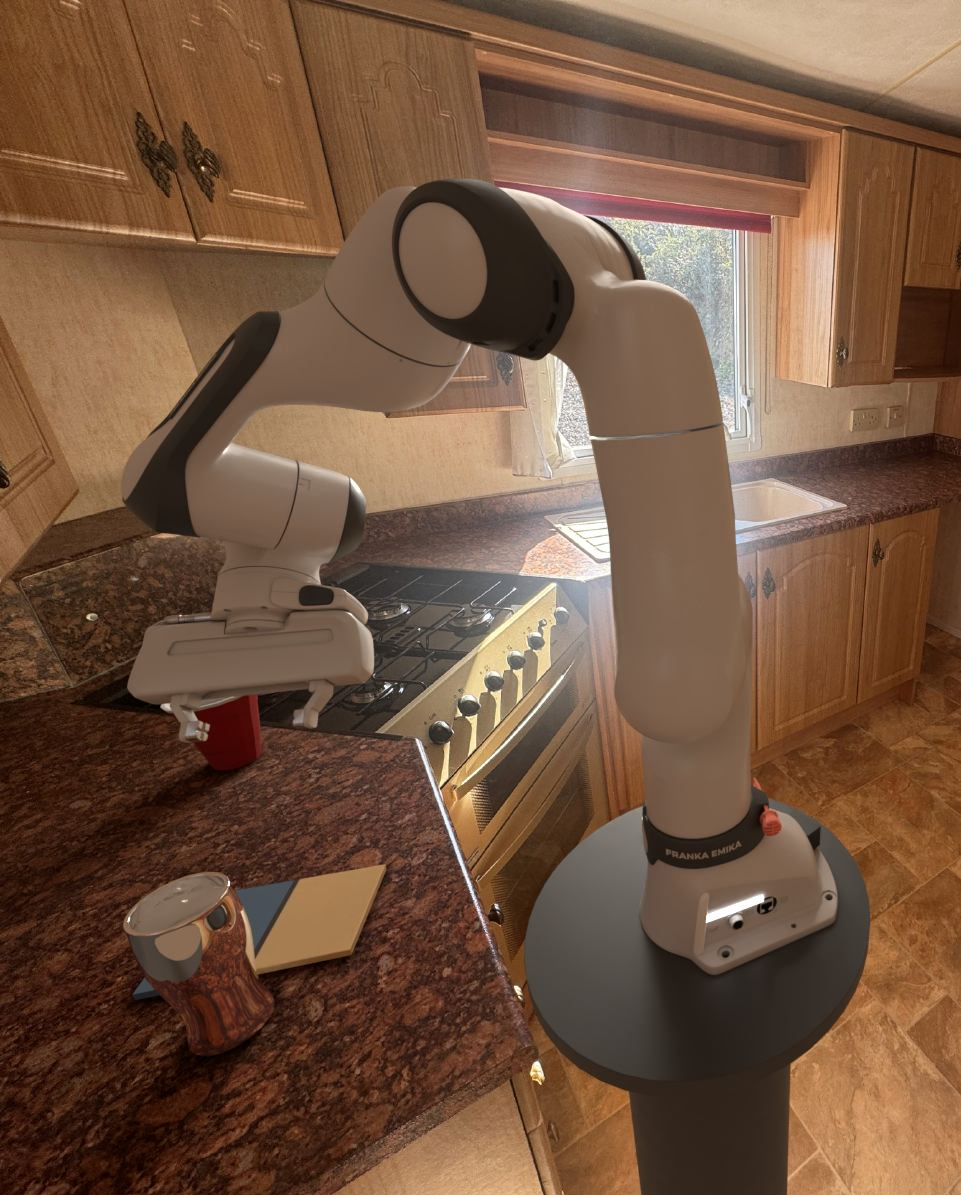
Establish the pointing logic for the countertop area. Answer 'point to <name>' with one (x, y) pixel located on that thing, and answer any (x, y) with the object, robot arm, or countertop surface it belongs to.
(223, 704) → the plastic cup
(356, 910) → the sorting board
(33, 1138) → the countertop surface
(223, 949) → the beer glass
